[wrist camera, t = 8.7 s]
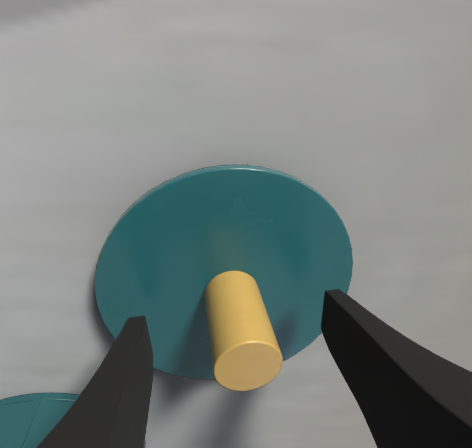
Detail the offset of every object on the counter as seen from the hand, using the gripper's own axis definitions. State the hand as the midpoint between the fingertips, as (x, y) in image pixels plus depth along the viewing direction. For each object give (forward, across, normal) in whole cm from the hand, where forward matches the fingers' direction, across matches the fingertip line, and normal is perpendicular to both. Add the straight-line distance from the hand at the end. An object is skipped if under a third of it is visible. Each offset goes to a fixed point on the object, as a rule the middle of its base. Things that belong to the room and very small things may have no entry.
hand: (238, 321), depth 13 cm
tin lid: (+2, 0, 0) cm, 2 cm away
